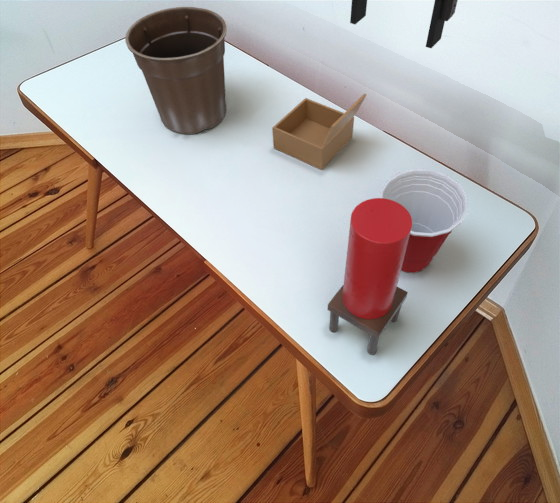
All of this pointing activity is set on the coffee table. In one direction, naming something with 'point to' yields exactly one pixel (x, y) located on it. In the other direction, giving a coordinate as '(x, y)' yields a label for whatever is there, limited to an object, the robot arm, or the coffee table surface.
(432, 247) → the plastic cup
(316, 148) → the carton
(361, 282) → the can
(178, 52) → the plant pot
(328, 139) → the flap
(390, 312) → the stool
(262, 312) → the coffee table surface
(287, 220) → the coffee table surface
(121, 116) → the coffee table surface
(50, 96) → the coffee table surface
